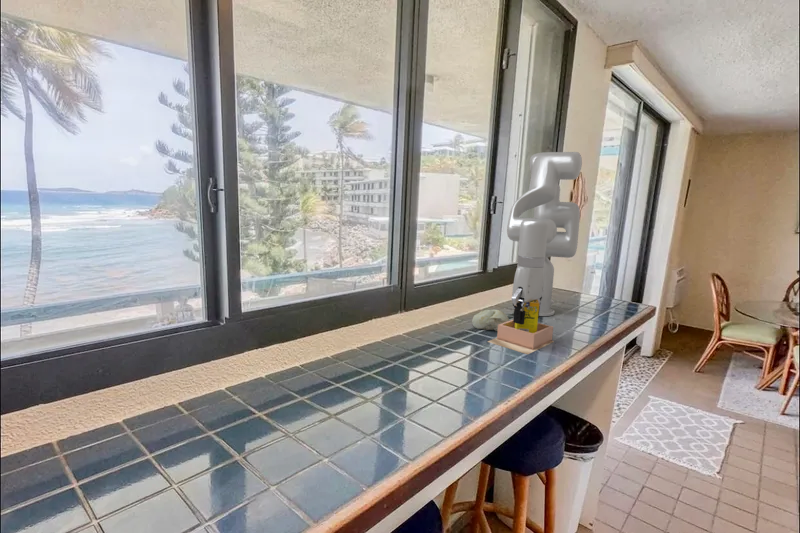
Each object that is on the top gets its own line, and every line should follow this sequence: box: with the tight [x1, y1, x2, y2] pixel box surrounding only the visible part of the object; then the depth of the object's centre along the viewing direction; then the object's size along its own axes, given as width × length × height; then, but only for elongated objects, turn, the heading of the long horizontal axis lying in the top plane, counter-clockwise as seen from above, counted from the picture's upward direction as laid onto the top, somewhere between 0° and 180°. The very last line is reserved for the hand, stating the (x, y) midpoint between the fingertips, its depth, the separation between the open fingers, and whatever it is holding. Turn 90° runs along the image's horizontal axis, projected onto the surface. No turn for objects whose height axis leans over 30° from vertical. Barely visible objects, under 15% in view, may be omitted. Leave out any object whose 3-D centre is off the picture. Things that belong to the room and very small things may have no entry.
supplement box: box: [515, 299, 539, 333], centre depth 121 cm, size 6×6×11 cm
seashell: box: [471, 309, 511, 332], centre depth 132 cm, size 13×8×10 cm
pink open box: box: [496, 319, 554, 350], centre depth 121 cm, size 12×12×4 cm
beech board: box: [487, 337, 555, 355], centre depth 120 cm, size 16×13×1 cm
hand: (526, 320), depth 121 cm, fingers closed on supplement box, 8 cm apart
